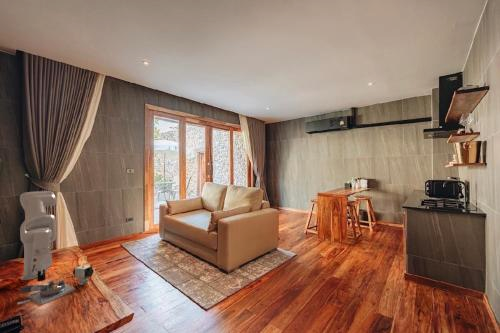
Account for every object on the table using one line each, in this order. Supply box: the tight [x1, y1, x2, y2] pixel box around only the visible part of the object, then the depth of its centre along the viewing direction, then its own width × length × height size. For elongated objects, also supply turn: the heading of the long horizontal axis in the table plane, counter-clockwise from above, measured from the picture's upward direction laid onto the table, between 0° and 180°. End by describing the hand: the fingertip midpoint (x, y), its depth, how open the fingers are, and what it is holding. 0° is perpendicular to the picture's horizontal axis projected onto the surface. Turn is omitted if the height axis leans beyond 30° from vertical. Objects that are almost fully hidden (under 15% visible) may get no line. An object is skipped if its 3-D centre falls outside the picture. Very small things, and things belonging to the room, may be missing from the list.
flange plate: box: [16, 283, 76, 306], centre depth 127 cm, size 16×22×2 cm
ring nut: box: [20, 279, 66, 296], centre depth 129 cm, size 22×11×4 cm, turn 100°
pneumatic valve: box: [72, 264, 95, 286], centre depth 142 cm, size 6×12×12 cm, turn 78°
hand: (41, 280), depth 134 cm, fingers closed
